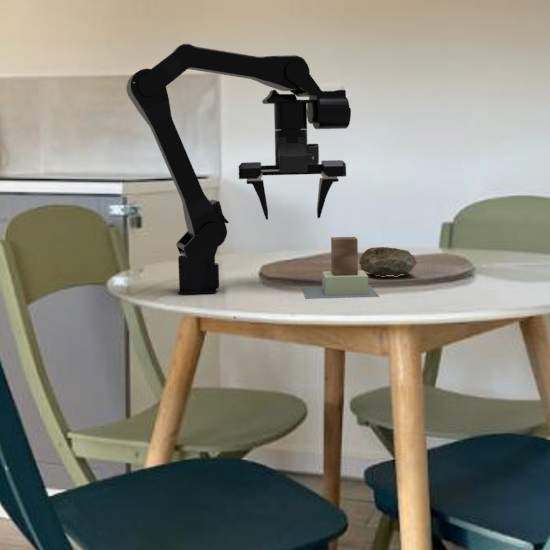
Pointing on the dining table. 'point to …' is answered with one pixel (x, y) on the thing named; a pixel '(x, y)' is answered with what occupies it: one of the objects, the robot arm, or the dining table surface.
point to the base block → (345, 284)
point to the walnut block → (344, 256)
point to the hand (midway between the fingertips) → (292, 218)
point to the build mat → (319, 293)
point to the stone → (387, 261)
